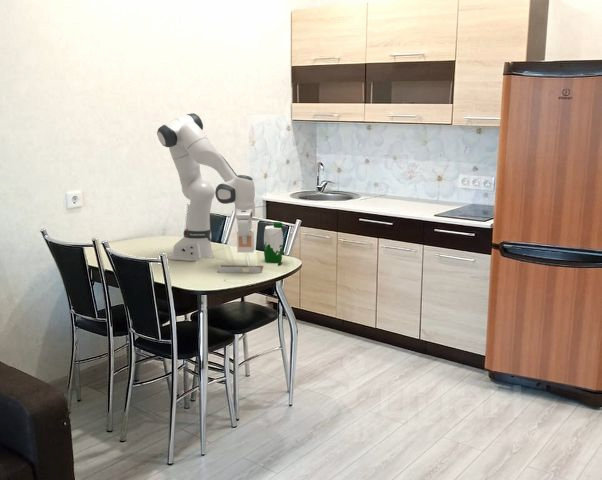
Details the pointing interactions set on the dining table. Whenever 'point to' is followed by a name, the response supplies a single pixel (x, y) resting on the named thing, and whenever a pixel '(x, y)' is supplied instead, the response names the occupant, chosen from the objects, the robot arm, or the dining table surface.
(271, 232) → the milk carton
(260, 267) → the shelf board
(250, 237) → the carton
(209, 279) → the dining table surface
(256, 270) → the rail
